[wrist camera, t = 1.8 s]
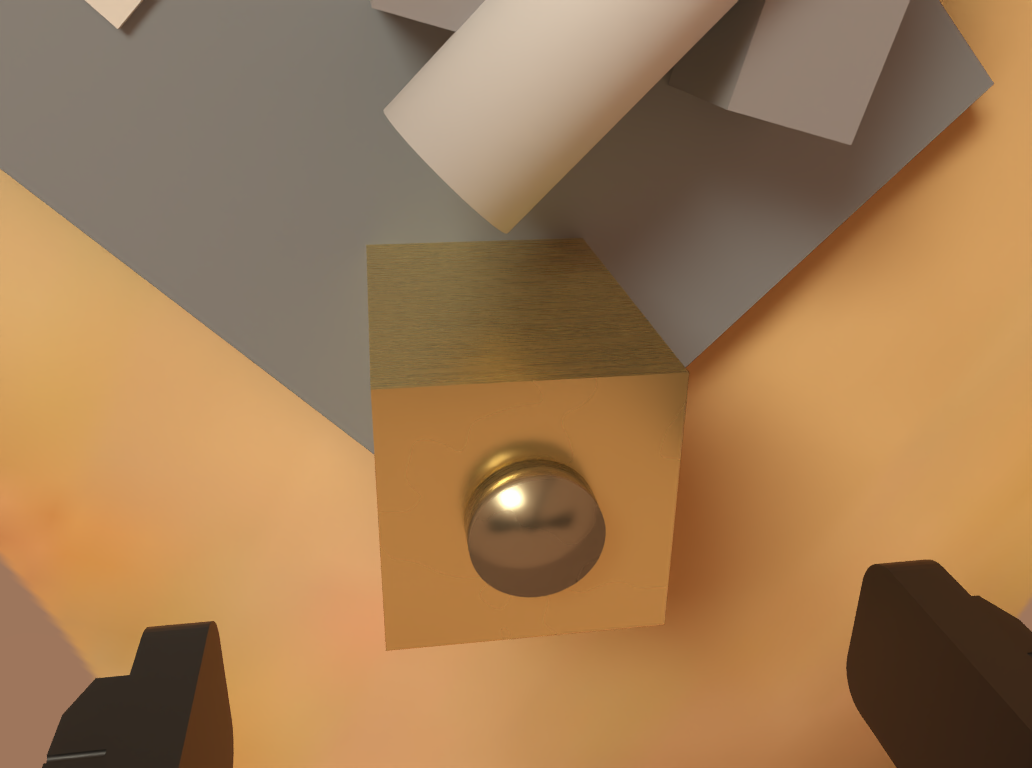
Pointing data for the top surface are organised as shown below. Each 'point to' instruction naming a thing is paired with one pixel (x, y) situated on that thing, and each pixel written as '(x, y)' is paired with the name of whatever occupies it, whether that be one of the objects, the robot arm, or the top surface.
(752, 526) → the top surface
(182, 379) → the top surface
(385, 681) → the top surface
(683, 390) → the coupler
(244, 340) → the shaft base
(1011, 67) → the top surface
